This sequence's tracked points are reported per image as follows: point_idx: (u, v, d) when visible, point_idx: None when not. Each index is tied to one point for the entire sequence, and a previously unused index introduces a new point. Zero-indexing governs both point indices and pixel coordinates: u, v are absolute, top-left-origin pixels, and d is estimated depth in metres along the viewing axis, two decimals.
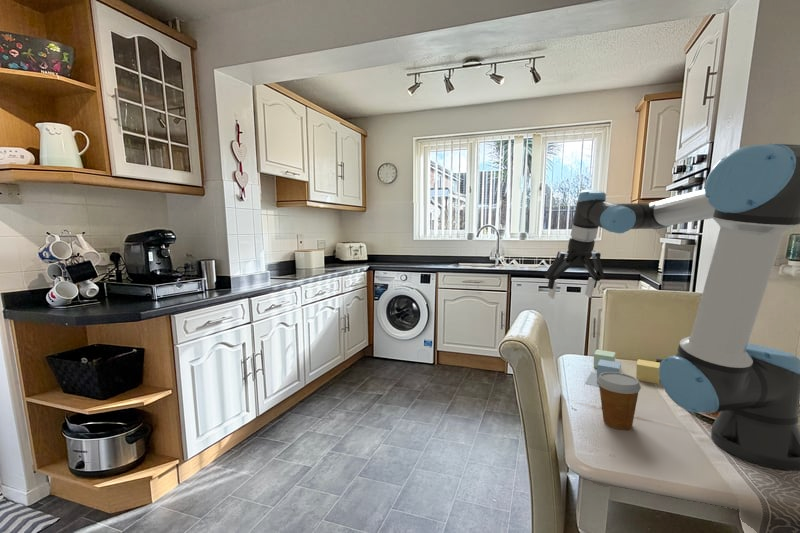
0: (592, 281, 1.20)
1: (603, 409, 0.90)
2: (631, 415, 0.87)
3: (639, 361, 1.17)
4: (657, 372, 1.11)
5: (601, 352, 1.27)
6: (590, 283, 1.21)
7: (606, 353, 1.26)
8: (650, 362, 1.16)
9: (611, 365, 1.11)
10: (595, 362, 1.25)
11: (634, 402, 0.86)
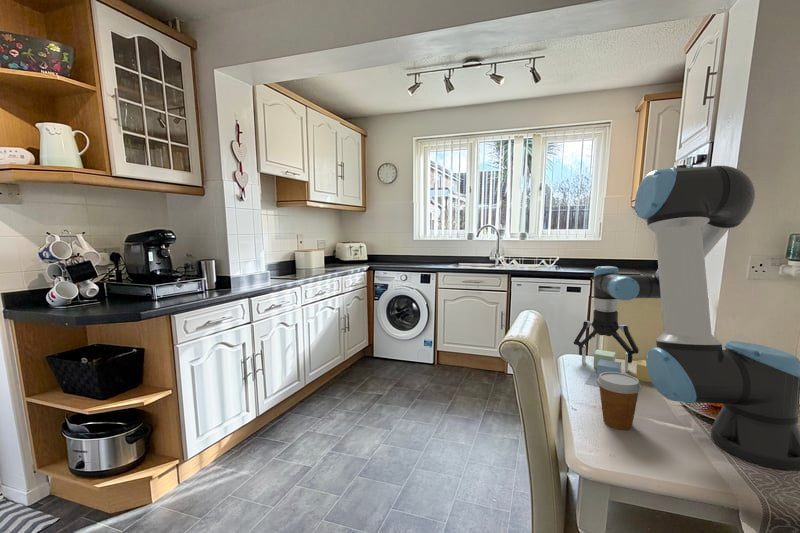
0: None
1: (603, 409, 0.90)
2: (631, 415, 0.87)
3: (639, 361, 1.17)
4: None
5: (601, 352, 1.27)
6: None
7: (606, 353, 1.26)
8: None
9: (611, 365, 1.11)
10: (595, 362, 1.25)
11: (634, 402, 0.86)
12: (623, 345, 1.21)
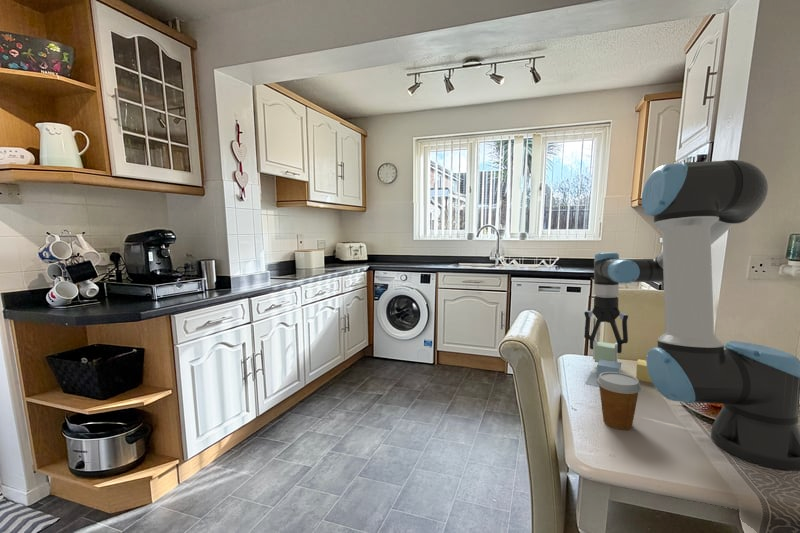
0: (615, 345, 1.23)
1: (603, 409, 0.90)
2: (631, 415, 0.87)
3: (639, 361, 1.17)
4: None
5: (601, 343, 1.27)
6: (615, 348, 1.23)
7: (607, 345, 1.25)
8: None
9: (611, 365, 1.11)
10: (596, 354, 1.25)
11: (634, 402, 0.86)
12: (616, 334, 1.22)
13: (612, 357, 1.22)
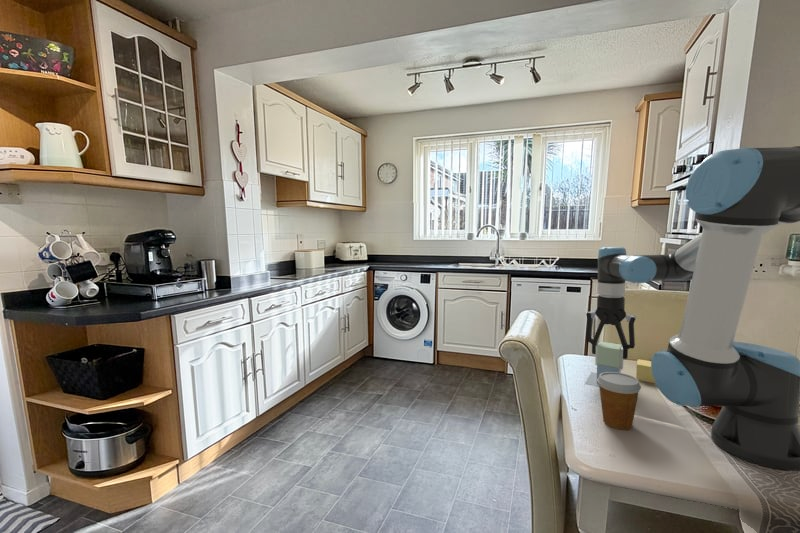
0: (620, 350, 1.10)
1: (603, 409, 0.90)
2: (631, 415, 0.87)
3: (639, 361, 1.17)
4: None
5: (605, 344, 1.14)
6: (620, 353, 1.11)
7: (611, 345, 1.13)
8: (650, 362, 1.16)
9: None
10: (599, 355, 1.12)
11: (634, 402, 0.86)
12: (621, 338, 1.10)
13: (617, 359, 1.09)
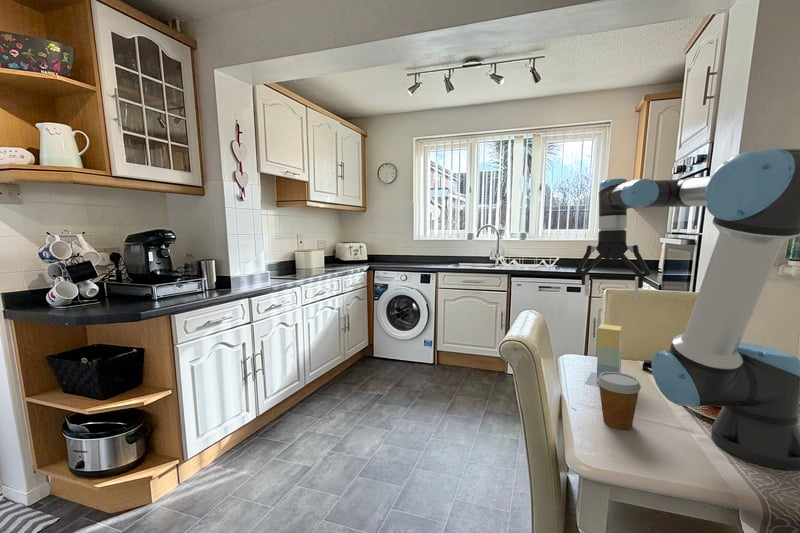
0: (635, 279, 1.06)
1: (603, 409, 0.90)
2: (631, 415, 0.87)
3: (601, 325, 1.14)
4: (618, 335, 1.09)
5: None
6: (635, 282, 1.07)
7: None
8: (612, 326, 1.13)
9: None
10: (599, 355, 1.12)
11: (634, 402, 0.86)
12: (633, 268, 1.06)
13: (617, 359, 1.09)
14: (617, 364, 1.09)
